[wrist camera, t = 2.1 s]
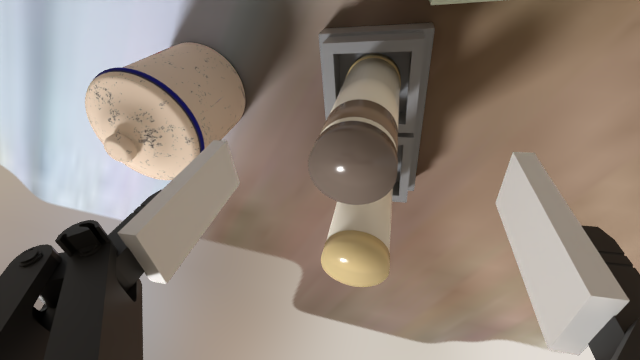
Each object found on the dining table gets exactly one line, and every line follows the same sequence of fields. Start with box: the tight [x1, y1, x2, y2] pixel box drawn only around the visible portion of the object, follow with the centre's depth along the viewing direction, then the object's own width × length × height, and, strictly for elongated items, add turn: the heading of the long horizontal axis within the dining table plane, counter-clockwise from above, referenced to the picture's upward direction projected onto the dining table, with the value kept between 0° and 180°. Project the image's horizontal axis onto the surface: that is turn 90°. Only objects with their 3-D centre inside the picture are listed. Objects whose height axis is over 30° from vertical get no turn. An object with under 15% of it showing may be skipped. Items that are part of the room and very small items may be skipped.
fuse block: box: [319, 23, 435, 202], centre depth 25 cm, size 14×8×4 cm, turn 5°
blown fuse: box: [308, 53, 401, 205], centre depth 18 cm, size 4×4×12 cm
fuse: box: [321, 188, 393, 287], centre depth 22 cm, size 4×4×12 cm
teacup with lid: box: [85, 42, 245, 180], centre depth 25 cm, size 12×9×12 cm
